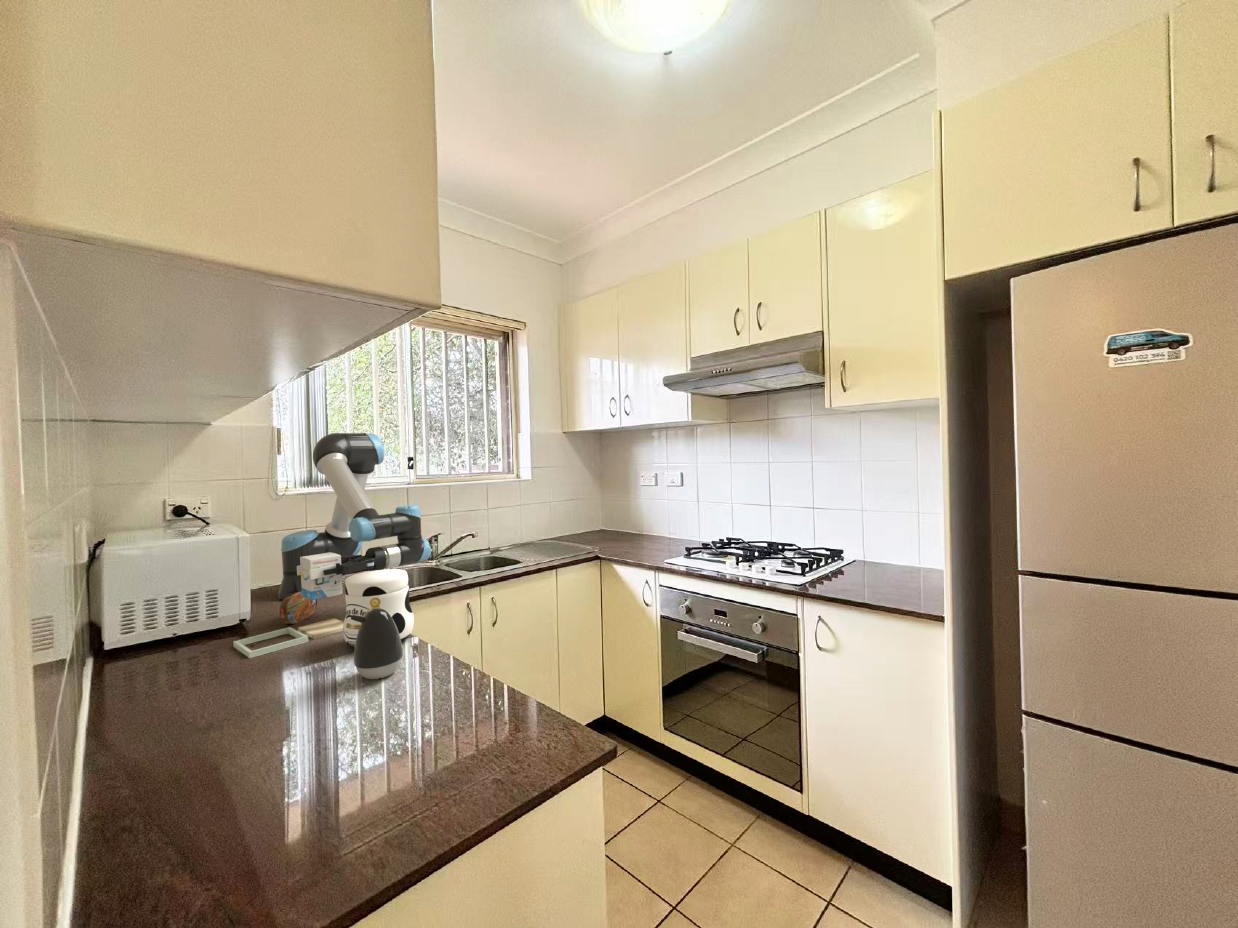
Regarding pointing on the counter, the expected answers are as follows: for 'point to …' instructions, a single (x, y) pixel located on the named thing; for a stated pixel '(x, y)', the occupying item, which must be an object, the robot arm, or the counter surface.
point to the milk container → (378, 600)
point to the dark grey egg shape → (377, 645)
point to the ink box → (320, 585)
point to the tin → (296, 608)
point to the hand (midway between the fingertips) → (303, 572)
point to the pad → (322, 628)
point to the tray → (250, 654)
